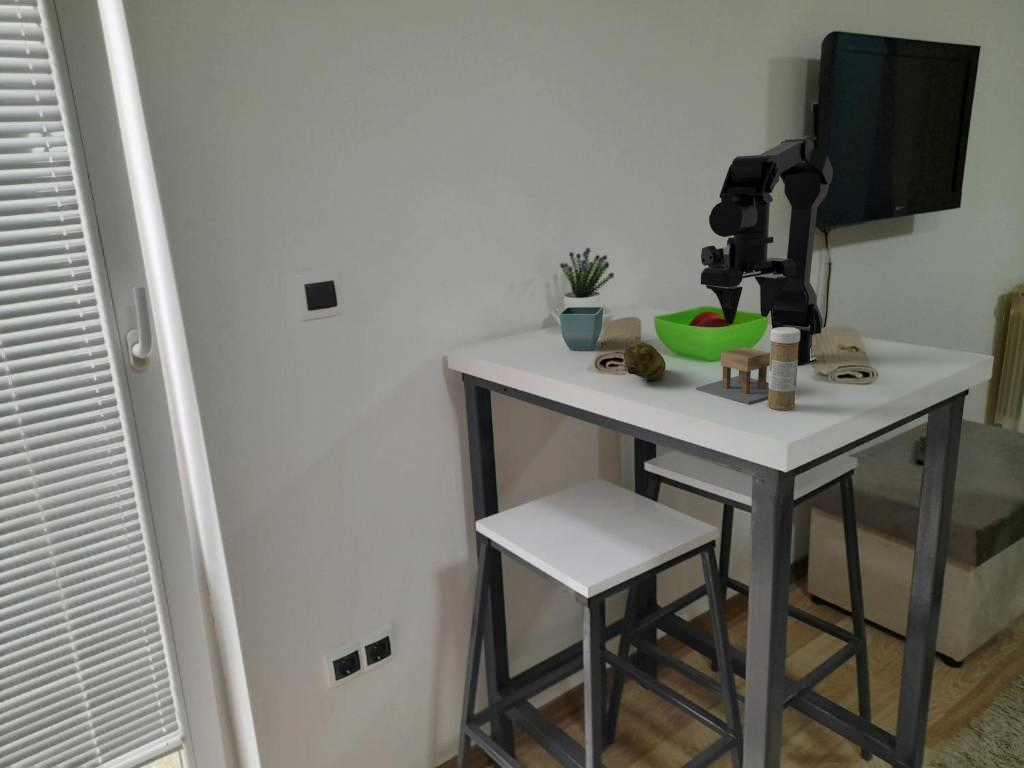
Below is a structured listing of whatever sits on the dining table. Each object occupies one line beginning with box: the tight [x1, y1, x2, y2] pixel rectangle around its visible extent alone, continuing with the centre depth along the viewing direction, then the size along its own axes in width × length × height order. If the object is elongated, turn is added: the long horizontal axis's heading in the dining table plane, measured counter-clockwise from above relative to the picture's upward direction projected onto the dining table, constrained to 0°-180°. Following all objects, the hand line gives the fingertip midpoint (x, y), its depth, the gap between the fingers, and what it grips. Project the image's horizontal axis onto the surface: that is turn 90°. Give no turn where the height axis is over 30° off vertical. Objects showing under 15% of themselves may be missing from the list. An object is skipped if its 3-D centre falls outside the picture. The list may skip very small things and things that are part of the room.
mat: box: [695, 375, 769, 405], centre depth 135 cm, size 12×12×1 cm
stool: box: [720, 346, 771, 394], centre depth 134 cm, size 6×6×7 cm
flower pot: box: [558, 306, 604, 351], centre depth 170 cm, size 9×9×9 cm
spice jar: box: [766, 327, 800, 411], centre depth 123 cm, size 5×5×14 cm
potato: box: [623, 341, 667, 381], centre depth 143 cm, size 8×13×8 cm, turn 136°
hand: (747, 320), depth 132 cm, fingers open, 9 cm apart
